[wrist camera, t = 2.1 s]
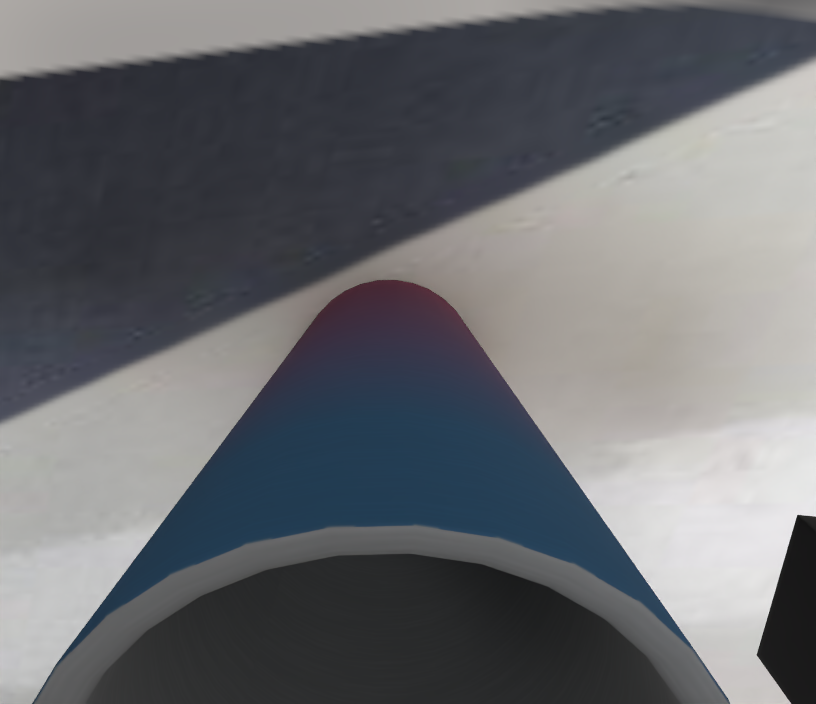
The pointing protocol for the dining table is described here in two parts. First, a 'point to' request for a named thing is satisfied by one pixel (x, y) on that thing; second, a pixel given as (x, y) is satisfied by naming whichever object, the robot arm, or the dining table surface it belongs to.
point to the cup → (383, 547)
